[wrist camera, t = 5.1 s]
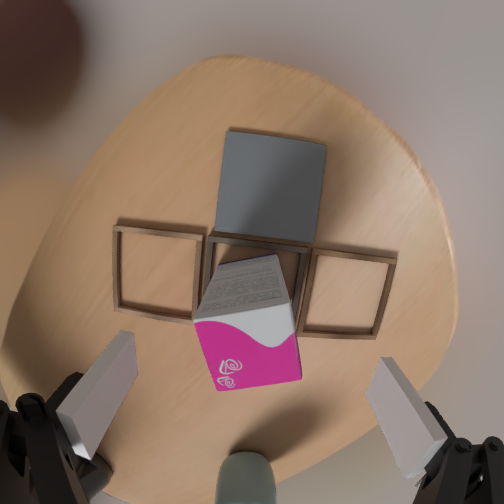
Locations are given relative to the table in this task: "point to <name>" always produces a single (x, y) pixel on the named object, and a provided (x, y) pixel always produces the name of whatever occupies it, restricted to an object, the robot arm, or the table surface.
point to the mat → (270, 186)
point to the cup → (246, 480)
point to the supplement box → (248, 325)
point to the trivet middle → (259, 244)
